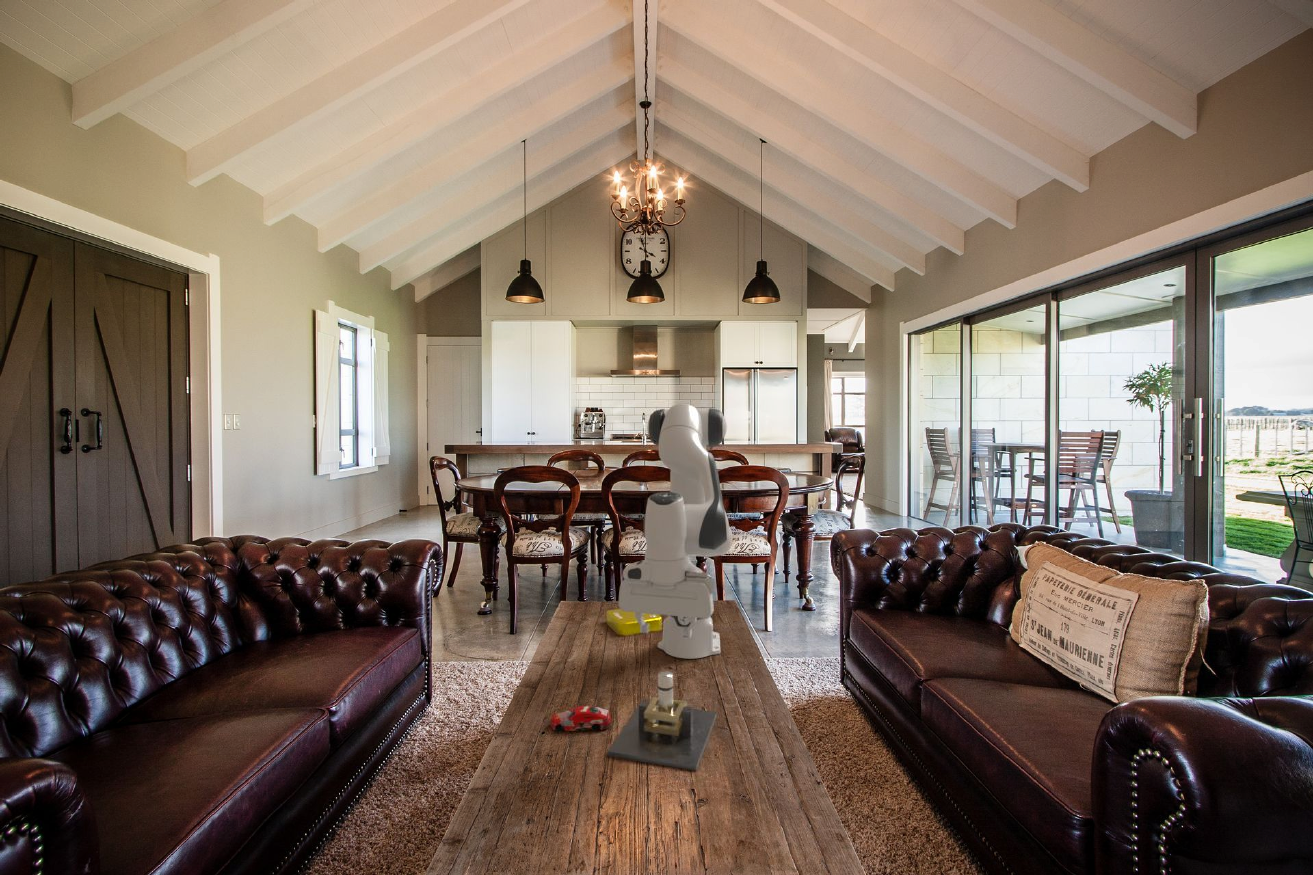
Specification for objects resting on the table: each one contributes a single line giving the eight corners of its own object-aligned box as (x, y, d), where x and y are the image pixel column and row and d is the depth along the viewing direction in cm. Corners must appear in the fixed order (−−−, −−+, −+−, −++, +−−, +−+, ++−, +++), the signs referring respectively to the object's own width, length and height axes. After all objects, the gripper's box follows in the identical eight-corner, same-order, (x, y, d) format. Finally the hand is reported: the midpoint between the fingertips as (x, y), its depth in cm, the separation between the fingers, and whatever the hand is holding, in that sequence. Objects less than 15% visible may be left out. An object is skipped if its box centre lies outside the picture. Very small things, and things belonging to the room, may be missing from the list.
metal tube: (660, 725, 127) (660, 670, 127) (675, 727, 127) (675, 672, 126) (655, 733, 124) (655, 676, 124) (671, 735, 123) (671, 678, 123)
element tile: (604, 623, 198) (604, 609, 198) (645, 617, 204) (645, 603, 204) (620, 637, 185) (620, 622, 185) (663, 630, 191) (663, 616, 191)
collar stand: (641, 705, 138) (641, 680, 138) (716, 716, 133) (716, 689, 133) (607, 756, 117) (607, 725, 117) (696, 770, 112) (696, 738, 112)
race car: (548, 733, 127) (547, 715, 127) (552, 721, 132) (552, 703, 132) (609, 733, 127) (609, 714, 127) (611, 720, 132) (611, 702, 132)
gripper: (716, 569, 125) (716, 634, 125) (625, 563, 131) (625, 625, 131) (711, 577, 119) (711, 644, 119) (615, 570, 124) (616, 635, 125)
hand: (665, 634), depth 125 cm, fingers open, 8 cm apart
